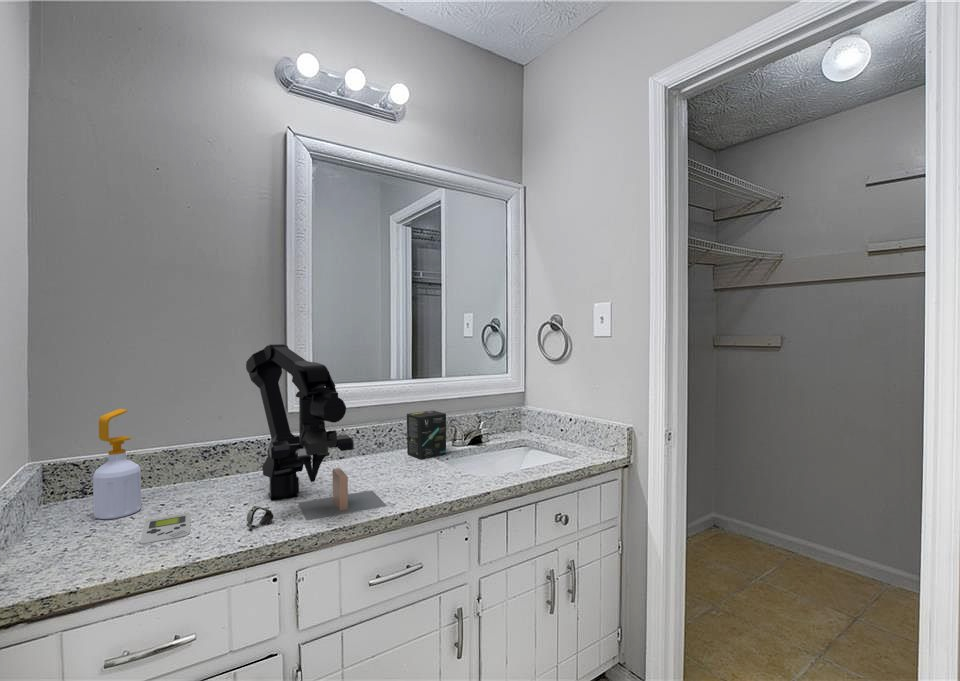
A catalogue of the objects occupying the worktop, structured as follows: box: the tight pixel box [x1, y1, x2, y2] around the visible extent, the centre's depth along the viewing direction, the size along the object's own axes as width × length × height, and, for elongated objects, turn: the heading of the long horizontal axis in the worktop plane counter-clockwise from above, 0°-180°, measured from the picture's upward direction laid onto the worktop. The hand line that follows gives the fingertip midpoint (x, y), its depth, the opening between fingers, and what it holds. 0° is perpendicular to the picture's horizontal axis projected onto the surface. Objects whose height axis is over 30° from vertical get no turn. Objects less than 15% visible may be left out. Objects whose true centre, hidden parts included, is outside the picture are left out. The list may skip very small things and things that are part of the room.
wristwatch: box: [246, 505, 275, 530], centre depth 108 cm, size 3×5×5 cm
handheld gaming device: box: [139, 512, 191, 545], centre depth 108 cm, size 9×1×15 cm
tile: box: [332, 467, 349, 510], centre depth 121 cm, size 2×8×8 cm, turn 29°
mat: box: [297, 490, 388, 521], centre depth 121 cm, size 19×13×1 cm
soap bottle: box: [92, 408, 142, 520], centre depth 116 cm, size 9×9×25 cm
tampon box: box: [406, 409, 447, 460], centre depth 171 cm, size 11×9×15 cm
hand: (312, 481), depth 117 cm, fingers closed
